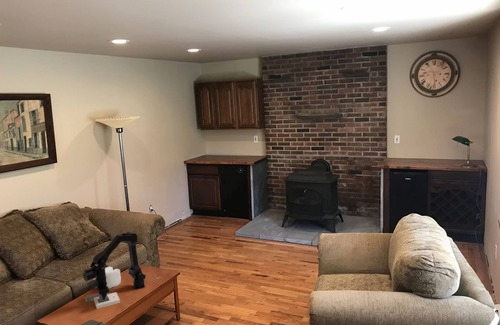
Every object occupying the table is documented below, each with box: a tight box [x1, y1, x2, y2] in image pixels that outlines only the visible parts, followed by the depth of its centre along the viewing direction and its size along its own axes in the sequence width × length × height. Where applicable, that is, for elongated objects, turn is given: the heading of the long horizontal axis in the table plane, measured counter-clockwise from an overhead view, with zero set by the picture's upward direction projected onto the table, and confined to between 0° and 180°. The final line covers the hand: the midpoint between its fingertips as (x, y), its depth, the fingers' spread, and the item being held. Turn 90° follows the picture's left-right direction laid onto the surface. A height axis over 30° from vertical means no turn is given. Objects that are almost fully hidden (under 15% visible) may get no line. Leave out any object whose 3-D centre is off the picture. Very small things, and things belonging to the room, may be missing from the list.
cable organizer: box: [92, 266, 122, 290], centre depth 277 cm, size 15×11×12 cm
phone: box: [84, 293, 109, 303], centre depth 262 cm, size 7×14×1 cm, turn 118°
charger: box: [98, 293, 108, 302], centre depth 254 cm, size 5×4×6 cm
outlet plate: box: [93, 292, 121, 310], centre depth 256 cm, size 14×12×2 cm
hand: (103, 298), depth 254 cm, fingers closed on charger, 4 cm apart
